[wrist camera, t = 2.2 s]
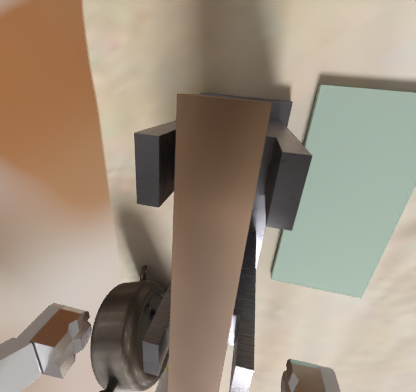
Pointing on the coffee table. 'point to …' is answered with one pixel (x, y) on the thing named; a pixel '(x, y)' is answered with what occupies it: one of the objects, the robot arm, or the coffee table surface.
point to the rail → (210, 229)
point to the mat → (350, 188)
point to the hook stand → (261, 216)
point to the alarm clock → (125, 336)
